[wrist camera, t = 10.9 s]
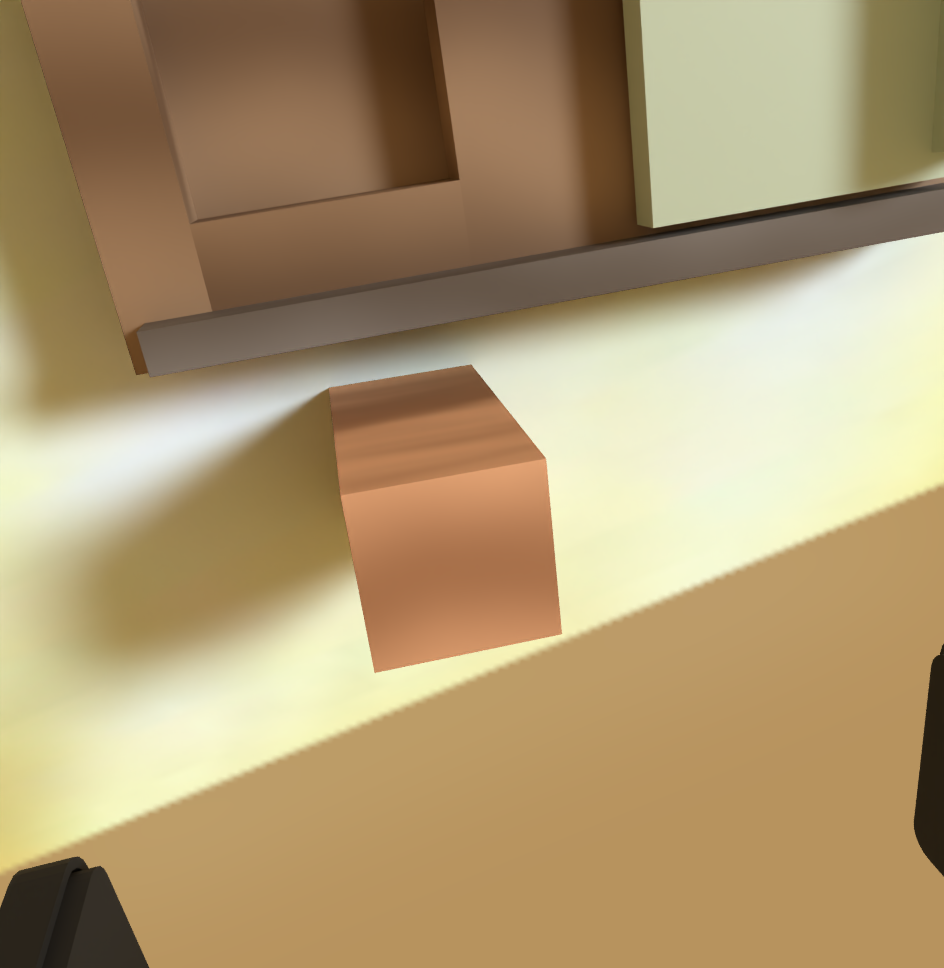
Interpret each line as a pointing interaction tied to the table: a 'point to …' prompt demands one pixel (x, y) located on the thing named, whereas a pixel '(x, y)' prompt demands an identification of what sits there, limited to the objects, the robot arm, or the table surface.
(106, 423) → the table surface
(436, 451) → the block
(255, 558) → the table surface
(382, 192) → the puzzle board
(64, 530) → the table surface
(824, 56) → the lid
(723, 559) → the table surface
